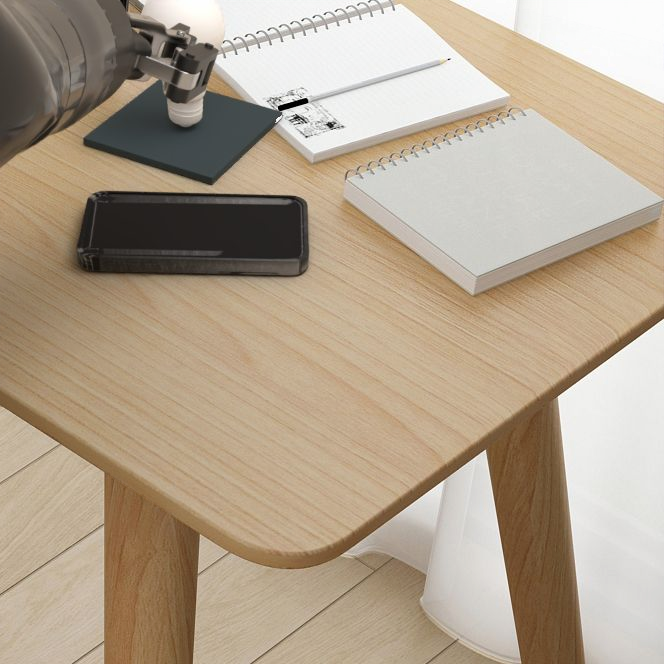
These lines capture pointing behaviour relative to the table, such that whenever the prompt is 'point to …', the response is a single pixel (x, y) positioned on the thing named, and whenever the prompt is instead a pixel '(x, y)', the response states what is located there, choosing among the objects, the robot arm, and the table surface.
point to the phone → (194, 233)
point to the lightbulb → (208, 27)
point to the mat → (184, 134)
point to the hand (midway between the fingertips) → (113, 14)
